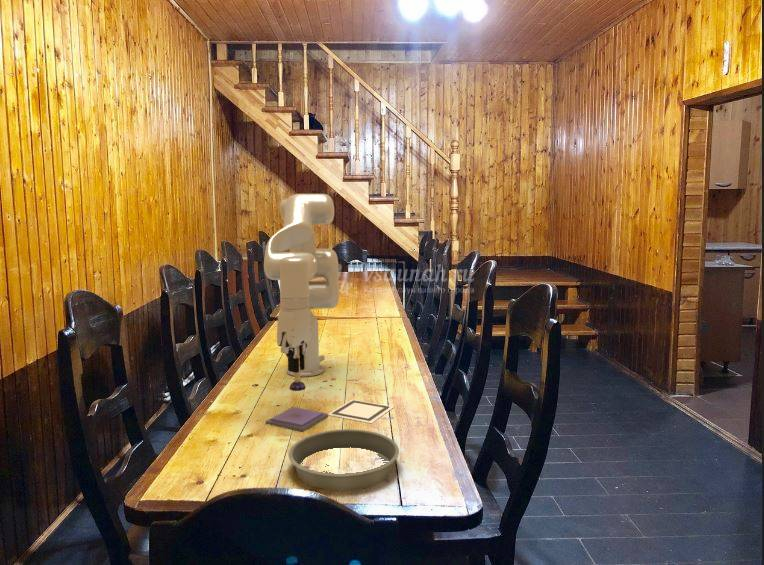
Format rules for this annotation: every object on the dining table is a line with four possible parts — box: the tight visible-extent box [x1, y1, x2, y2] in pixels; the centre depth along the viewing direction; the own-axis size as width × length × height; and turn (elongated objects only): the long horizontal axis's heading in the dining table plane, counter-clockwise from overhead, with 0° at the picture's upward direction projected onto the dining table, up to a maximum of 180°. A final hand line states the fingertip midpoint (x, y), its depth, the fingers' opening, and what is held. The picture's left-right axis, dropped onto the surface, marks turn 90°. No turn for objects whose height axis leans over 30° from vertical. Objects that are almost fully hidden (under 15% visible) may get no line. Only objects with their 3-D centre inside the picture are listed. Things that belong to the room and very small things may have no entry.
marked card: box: [327, 399, 395, 424], centre depth 172 cm, size 14×14×1 cm
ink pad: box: [265, 406, 329, 433], centre depth 165 cm, size 12×12×1 cm
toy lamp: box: [289, 340, 306, 392], centre depth 163 cm, size 5×5×17 cm
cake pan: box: [288, 428, 400, 491], centre depth 136 cm, size 25×25×4 cm
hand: (296, 369), depth 164 cm, fingers closed on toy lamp
